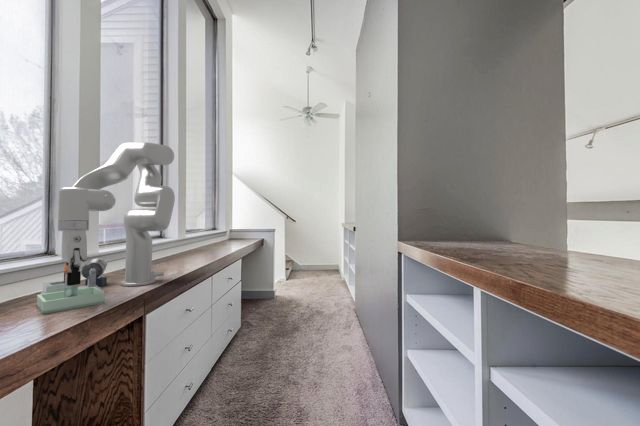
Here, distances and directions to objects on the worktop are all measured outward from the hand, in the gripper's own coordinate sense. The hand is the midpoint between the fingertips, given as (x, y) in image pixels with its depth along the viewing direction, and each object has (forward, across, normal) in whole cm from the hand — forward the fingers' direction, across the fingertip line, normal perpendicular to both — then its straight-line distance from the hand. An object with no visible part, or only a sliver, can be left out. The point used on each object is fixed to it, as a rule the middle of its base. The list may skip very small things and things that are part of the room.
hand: (72, 283), depth 92 cm
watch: (+7, +25, -12) cm, 29 cm away
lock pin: (+4, 0, 0) cm, 4 cm away
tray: (+7, 0, 0) cm, 7 cm away
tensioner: (+7, +14, -2) cm, 15 cm away
